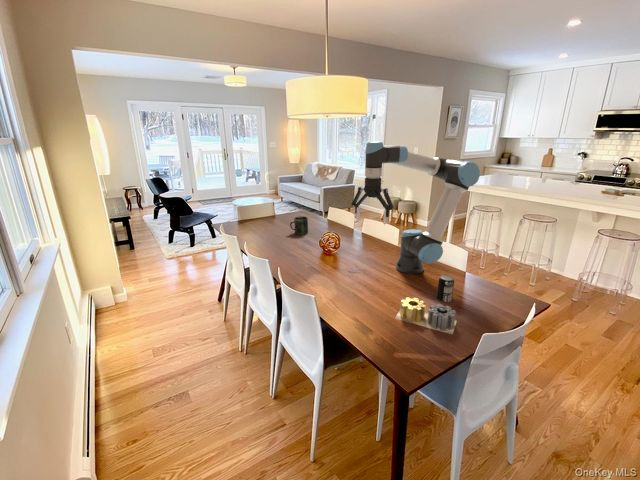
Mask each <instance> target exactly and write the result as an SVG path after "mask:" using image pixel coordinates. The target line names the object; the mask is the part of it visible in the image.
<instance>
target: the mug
mask: <svg viewBox="0 0 640 480" xmlns="http://www.w3.org/2000/svg"><path fill="white" fill-rule="evenodd" d="M308 220H309V217H308V216H305V215H304V216H295V217H294V218H293V221H290V223H289V224H290V225H289V227H290V229H291V230H292V231H294V233H295V235H301V234H302V235H306V234H308V233H309V223H308ZM292 224H294V228H293V226H292Z"/></svg>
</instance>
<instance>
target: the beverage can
mask: <svg viewBox="0 0 640 480" xmlns="http://www.w3.org/2000/svg"><path fill="white" fill-rule="evenodd" d="M454 285H455V280H454V277H453V276H452V275H450V274H441V275H440V276H439V279H438V285H437V294H436V299H437V300H438V301H441V302H445V303H447V302H448V303H450V302H452V301H453V292H454Z"/></svg>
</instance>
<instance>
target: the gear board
mask: <svg viewBox="0 0 640 480" xmlns="http://www.w3.org/2000/svg"><path fill="white" fill-rule="evenodd" d="M394 319H395V320H399V321H402V322H407V323H410V324H413V325H417V326H420V327H423V328H427V329H432V330H434V331H438V332H442V333H445V334H449V335H453V334H454V331H455V328H456V325H457V322H458V320H456V319H455V322H454V326H453V329H451V330H449V329H446V331H441V330H440V328H436V329H434V328H433V327H431V324H428V312H427V311H425V318H424V320H422V319H421V322H417V323H416V322H415V321H412V322H409V321H407V319H406V318H404V319H403V318H402V317H401V314H400V310H399V311H398V312H397V314H396V316H395V317H394Z"/></svg>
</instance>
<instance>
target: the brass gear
mask: <svg viewBox="0 0 640 480" xmlns="http://www.w3.org/2000/svg"><path fill="white" fill-rule="evenodd" d="M426 308H427V305H426V302H425V301H424V300H419V298H418V297H413V298H411V297H409V296H408V297H404V299H401V301H400V309H399V311H400V314H401V317H402V318H403V319H404V318H406V319H407V321H409V322H412V321H415V322H416V323H417V322H421V319H422V320H424V318H425V312H427V311H426V310H427V309H426ZM409 322H408V323H409Z"/></svg>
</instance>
